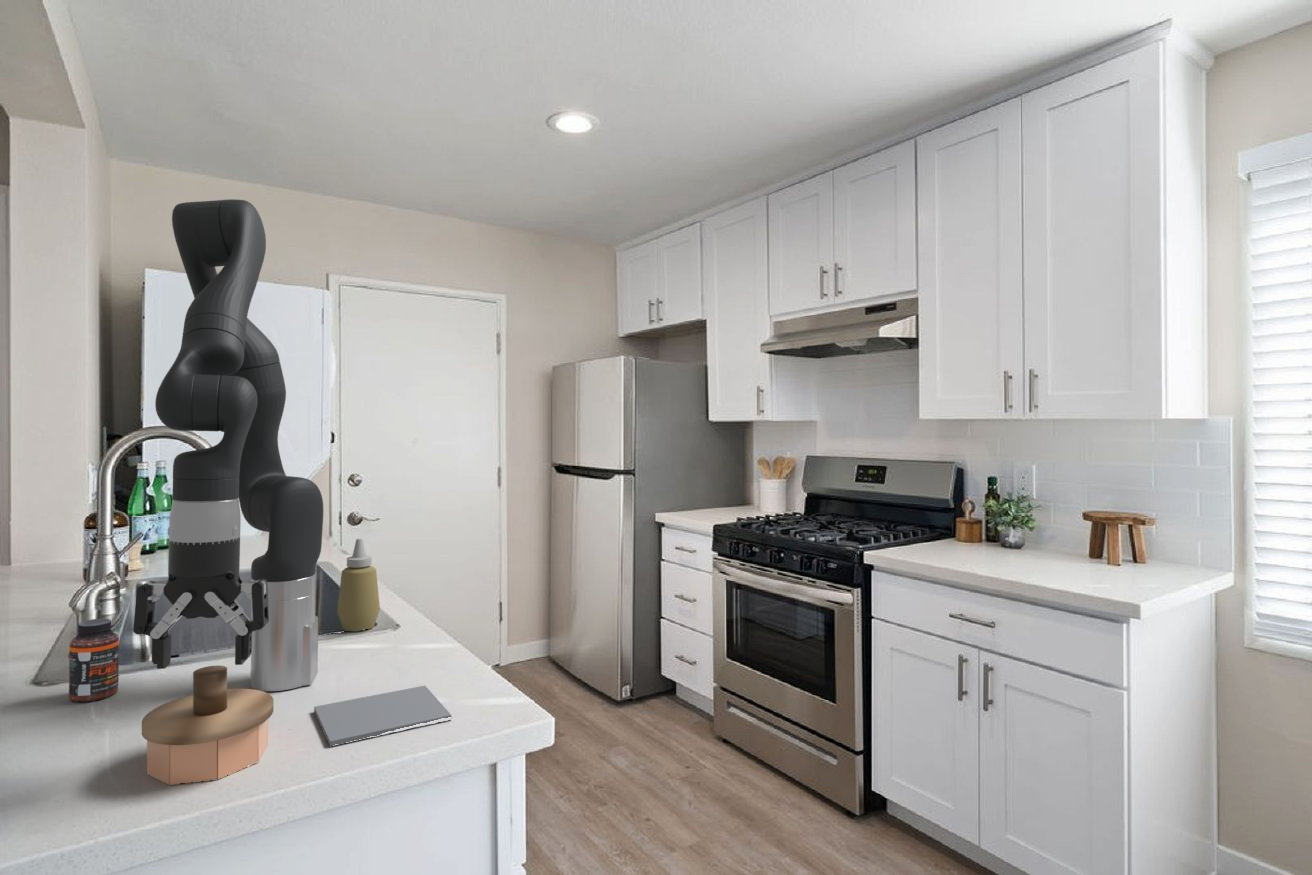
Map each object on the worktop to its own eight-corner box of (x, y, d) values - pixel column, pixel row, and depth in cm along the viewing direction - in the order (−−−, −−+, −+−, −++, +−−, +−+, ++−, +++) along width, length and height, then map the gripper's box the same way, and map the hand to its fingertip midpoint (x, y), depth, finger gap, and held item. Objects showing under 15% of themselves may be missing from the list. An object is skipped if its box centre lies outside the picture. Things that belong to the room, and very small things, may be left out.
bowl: (274, 733, 97) (274, 696, 97) (250, 776, 86) (250, 735, 86) (173, 742, 94) (173, 704, 94) (134, 788, 83) (134, 745, 82)
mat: (425, 690, 113) (425, 685, 113) (451, 720, 103) (451, 714, 103) (314, 712, 104) (314, 706, 104) (330, 747, 94) (330, 741, 94)
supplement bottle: (91, 705, 105) (91, 628, 105) (58, 701, 106) (58, 625, 106) (128, 690, 111) (128, 617, 111) (97, 686, 112) (96, 614, 112)
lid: (284, 693, 99) (284, 648, 98) (257, 738, 85) (257, 686, 85) (167, 702, 95) (167, 656, 94) (120, 750, 81) (120, 696, 81)
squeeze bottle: (353, 636, 139) (354, 544, 139) (328, 629, 144) (328, 540, 143) (388, 626, 146) (389, 539, 146) (363, 619, 151) (364, 534, 150)
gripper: (276, 530, 94) (273, 652, 95) (152, 531, 91) (150, 658, 91) (260, 539, 87) (256, 672, 87) (125, 540, 84) (122, 678, 84)
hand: (202, 664), depth 89 cm, fingers open, 8 cm apart
